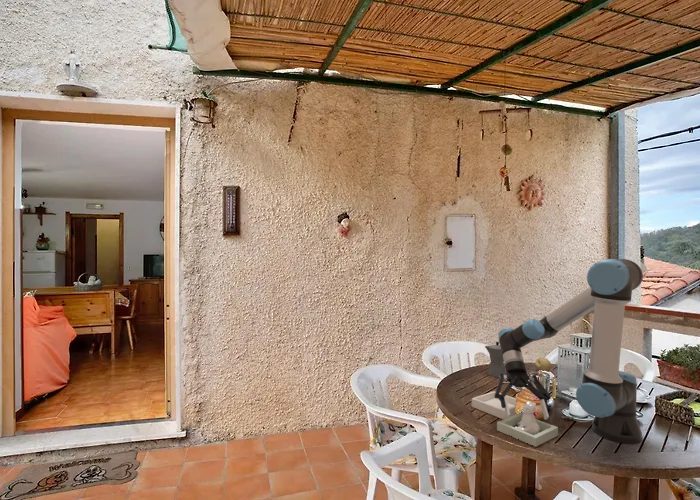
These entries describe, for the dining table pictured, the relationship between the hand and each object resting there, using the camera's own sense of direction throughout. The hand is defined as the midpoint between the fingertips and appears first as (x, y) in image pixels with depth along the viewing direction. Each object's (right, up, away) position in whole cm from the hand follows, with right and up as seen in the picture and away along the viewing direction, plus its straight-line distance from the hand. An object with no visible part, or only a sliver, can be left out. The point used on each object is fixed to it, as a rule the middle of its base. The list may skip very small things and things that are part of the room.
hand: (527, 417), depth 143 cm
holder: (0, -6, +1) cm, 6 cm away
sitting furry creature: (0, -6, +1) cm, 7 cm away
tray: (-2, -6, +23) cm, 24 cm away
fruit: (+43, -7, +75) cm, 86 cm away
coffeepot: (+16, -7, +68) cm, 70 cm away
